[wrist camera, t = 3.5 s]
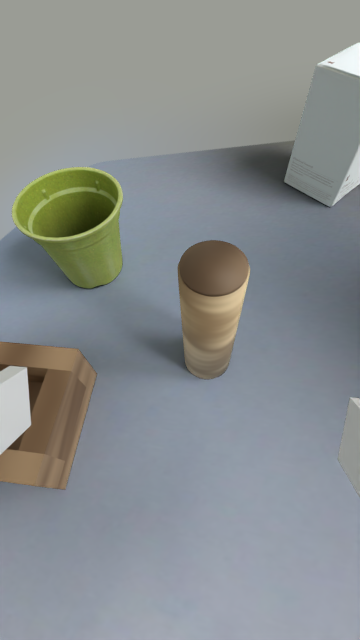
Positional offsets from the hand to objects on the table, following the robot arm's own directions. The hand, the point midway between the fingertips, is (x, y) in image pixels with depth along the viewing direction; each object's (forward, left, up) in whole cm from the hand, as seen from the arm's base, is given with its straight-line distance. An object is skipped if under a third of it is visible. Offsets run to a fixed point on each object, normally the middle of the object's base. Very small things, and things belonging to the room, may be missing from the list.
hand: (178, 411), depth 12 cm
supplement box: (-14, -34, -13) cm, 39 cm away
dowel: (-1, -8, -13) cm, 15 cm away
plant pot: (+12, -18, -13) cm, 25 cm away
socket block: (+13, -1, -13) cm, 18 cm away
